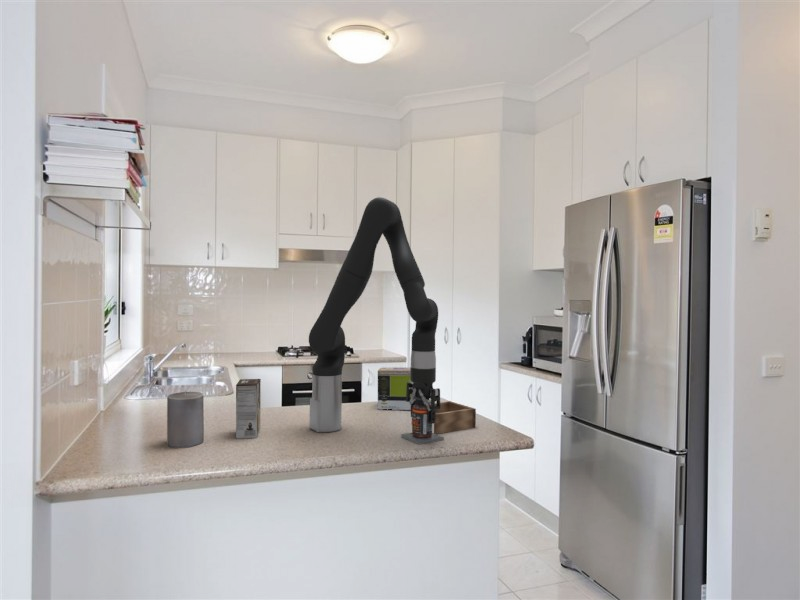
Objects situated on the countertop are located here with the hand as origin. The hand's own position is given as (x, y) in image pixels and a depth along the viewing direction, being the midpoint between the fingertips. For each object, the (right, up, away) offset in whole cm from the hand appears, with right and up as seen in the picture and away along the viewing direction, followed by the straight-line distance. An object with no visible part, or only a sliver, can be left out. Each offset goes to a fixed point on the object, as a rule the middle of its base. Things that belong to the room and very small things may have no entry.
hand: (422, 420), depth 162 cm
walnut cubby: (+7, -5, +15) cm, 17 cm away
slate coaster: (0, -5, 0) cm, 5 cm away
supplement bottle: (0, -5, 0) cm, 5 cm away
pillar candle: (-67, -5, -7) cm, 68 cm away
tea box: (-7, -5, +41) cm, 42 cm away
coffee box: (-52, -5, +3) cm, 53 cm away
